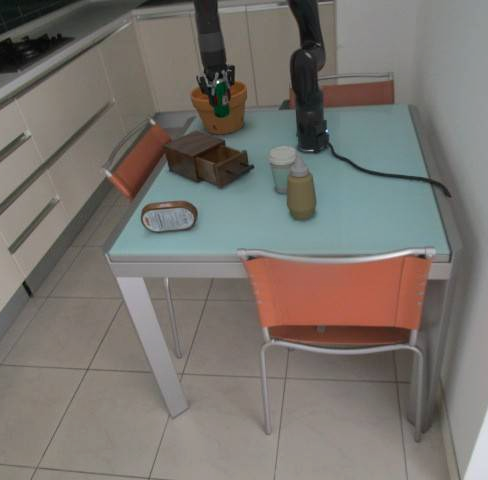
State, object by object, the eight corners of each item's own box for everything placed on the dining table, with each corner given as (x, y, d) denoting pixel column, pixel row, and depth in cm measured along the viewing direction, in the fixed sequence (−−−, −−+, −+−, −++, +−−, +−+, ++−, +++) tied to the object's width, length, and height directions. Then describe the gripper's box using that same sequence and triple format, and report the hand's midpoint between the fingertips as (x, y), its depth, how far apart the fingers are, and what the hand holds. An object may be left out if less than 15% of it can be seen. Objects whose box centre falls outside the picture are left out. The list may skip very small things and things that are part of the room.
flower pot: (188, 138, 176) (180, 99, 167) (209, 116, 192) (202, 80, 183) (241, 139, 170) (235, 100, 161) (257, 117, 186) (253, 79, 177)
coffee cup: (303, 182, 141) (301, 146, 134) (295, 197, 134) (292, 159, 127) (276, 180, 143) (273, 144, 136) (267, 194, 137) (263, 157, 130)
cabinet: (229, 165, 154) (225, 139, 149) (197, 182, 147) (192, 156, 141) (200, 154, 163) (195, 130, 157) (169, 170, 155) (163, 145, 150)
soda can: (227, 118, 146) (222, 80, 139) (212, 118, 147) (206, 80, 140) (232, 112, 150) (227, 74, 143) (217, 112, 151) (211, 74, 144)
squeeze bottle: (297, 226, 123) (292, 164, 112) (282, 212, 128) (276, 153, 118) (323, 216, 125) (321, 155, 114) (307, 203, 131) (304, 144, 120)
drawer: (262, 176, 144) (259, 155, 140) (233, 194, 137) (229, 172, 133) (221, 161, 155) (217, 140, 151) (192, 176, 148) (187, 155, 144)
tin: (200, 223, 128) (194, 197, 123) (199, 230, 125) (193, 203, 120) (146, 228, 128) (138, 202, 123) (144, 235, 126) (135, 209, 121)
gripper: (201, 55, 130) (211, 113, 140) (238, 42, 138) (245, 98, 148) (184, 51, 135) (195, 108, 145) (221, 39, 143) (229, 94, 153)
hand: (220, 103), depth 146 cm, fingers closed on soda can, 5 cm apart
